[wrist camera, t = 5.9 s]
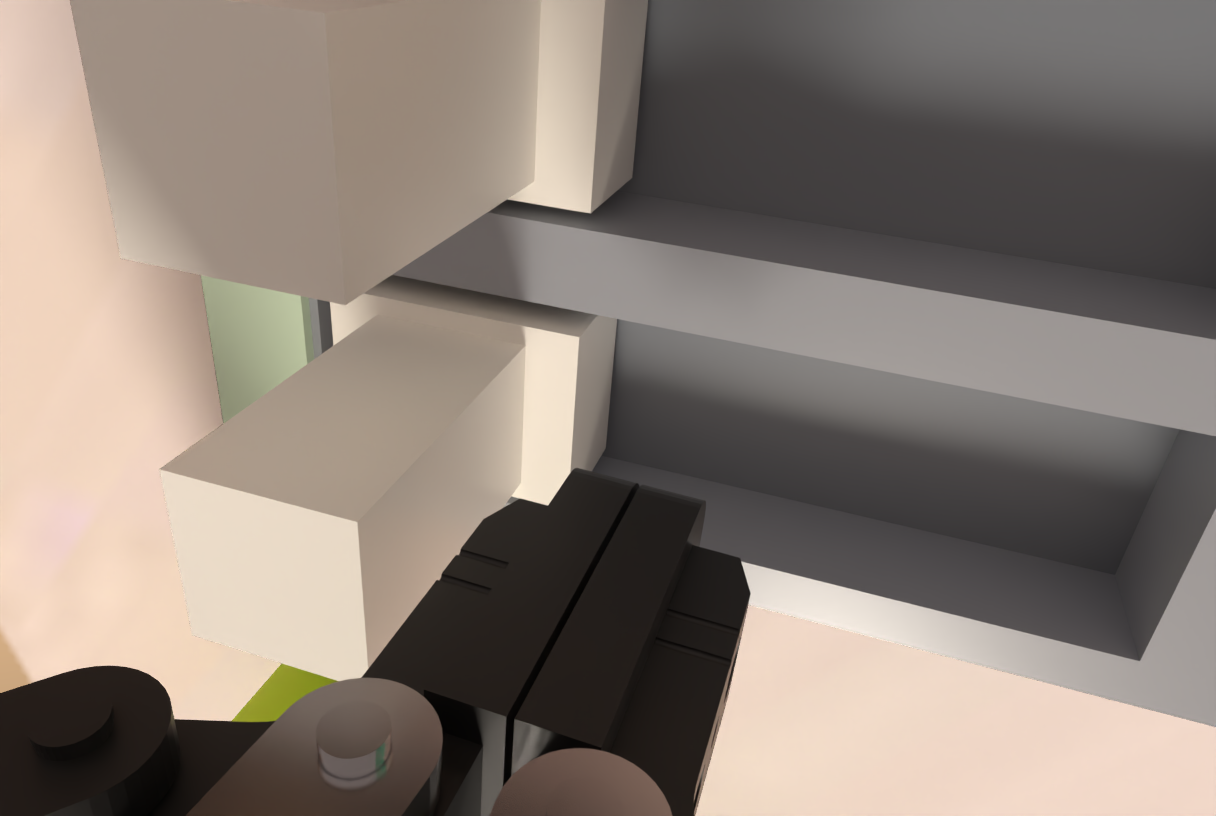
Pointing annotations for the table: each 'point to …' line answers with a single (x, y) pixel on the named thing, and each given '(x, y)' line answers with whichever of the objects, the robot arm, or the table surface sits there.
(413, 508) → the tab
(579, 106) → the tab
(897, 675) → the table surface
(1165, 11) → the switch bank
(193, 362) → the table surface
